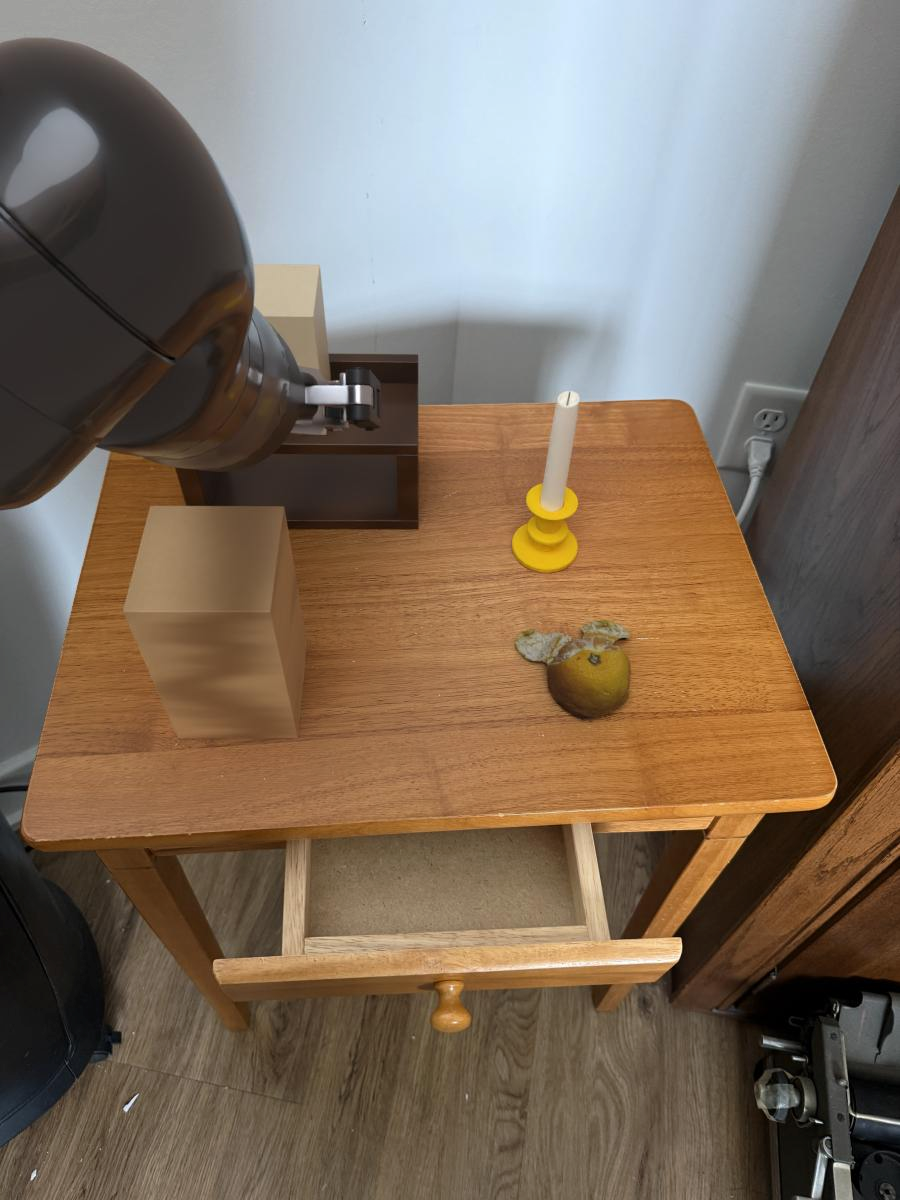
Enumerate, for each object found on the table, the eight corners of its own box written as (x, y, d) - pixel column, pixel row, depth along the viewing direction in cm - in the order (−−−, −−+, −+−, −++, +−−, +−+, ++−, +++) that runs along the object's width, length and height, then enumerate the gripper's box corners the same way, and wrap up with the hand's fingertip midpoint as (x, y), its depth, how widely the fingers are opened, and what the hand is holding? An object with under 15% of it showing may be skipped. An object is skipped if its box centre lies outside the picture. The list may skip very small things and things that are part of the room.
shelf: (192, 528, 71) (160, 421, 62) (207, 459, 76) (180, 351, 67) (418, 529, 72) (418, 423, 63) (418, 460, 76) (418, 354, 68)
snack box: (264, 435, 65) (242, 315, 57) (272, 382, 68) (253, 263, 61) (326, 435, 65) (313, 316, 57) (331, 383, 69) (319, 264, 61)
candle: (539, 583, 68) (565, 428, 56) (498, 541, 71) (514, 384, 59) (590, 554, 70) (626, 398, 58) (548, 515, 73) (574, 357, 61)
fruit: (618, 618, 66) (627, 587, 64) (657, 712, 62) (668, 683, 59) (511, 635, 65) (515, 605, 62) (542, 733, 60) (548, 705, 57)
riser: (177, 739, 59) (122, 611, 48) (196, 641, 64) (149, 505, 53) (298, 738, 60) (270, 611, 49) (307, 641, 64) (284, 505, 53)
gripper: (369, 286, 37) (383, 349, 53) (17, 282, 36) (140, 346, 52) (370, 470, 38) (384, 476, 54) (27, 468, 37) (145, 475, 53)
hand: (264, 412), depth 53 cm, fingers open, 8 cm apart
